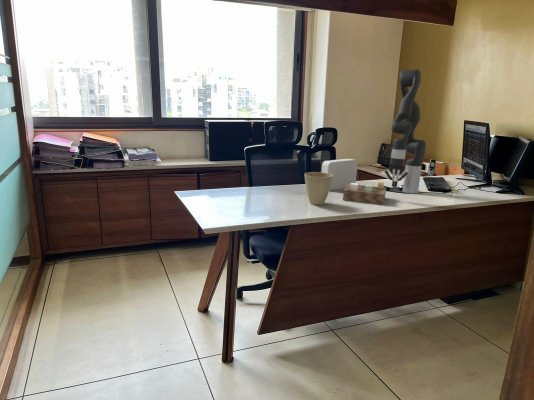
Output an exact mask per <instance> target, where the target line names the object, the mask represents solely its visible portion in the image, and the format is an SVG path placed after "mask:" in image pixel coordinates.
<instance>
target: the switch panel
mask: <svg viewBox="0 0 534 400" xmlns="http://www.w3.org/2000/svg"><path fill="white" fill-rule="evenodd" d="M364 190H365V185H364V184H363V185H362V184H361V185H360V184H358V190H350V184H348V185H347V186H346V188H343V195H342V196H343V197H342V201H345V202H355V203H364V204H370V205H371V204H372V205H382V206H384V204H385V201H386V194H387V193H386V192H387V187H383V189H378V186H373V189H372V192H367V191H364Z"/></svg>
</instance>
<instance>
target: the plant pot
mask: <svg viewBox="0 0 534 400" xmlns="http://www.w3.org/2000/svg"><path fill="white" fill-rule="evenodd" d="M332 177H333V175H332V174H329V173H322V171H320V172H318V171H312V172H311V171H310V172H305V173H304V182H305V183H304V184H305V189H306V193H307V197H308V201H309V203H310V205H313V206H323V205H324V204H325V202H326V200H327V197H328V196H329V195H328V194H329V192H330V191H329V189H330V186H331V182H332Z"/></svg>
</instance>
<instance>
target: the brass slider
mask: <svg viewBox="0 0 534 400" xmlns="http://www.w3.org/2000/svg"><path fill="white" fill-rule="evenodd" d="M384 185H385V182H382V181H379V182H377V187H378V189H383V188H385V187H384Z"/></svg>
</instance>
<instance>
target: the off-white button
mask: <svg viewBox="0 0 534 400" xmlns="http://www.w3.org/2000/svg"><path fill="white" fill-rule="evenodd" d="M358 185H359V183H357V182H356V183H351V184H350V190H358Z"/></svg>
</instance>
